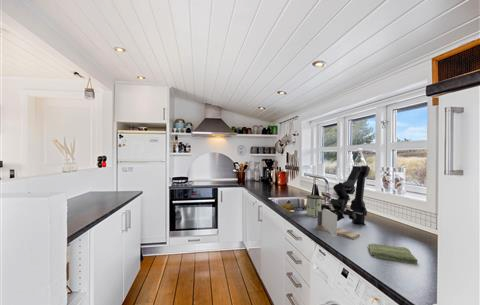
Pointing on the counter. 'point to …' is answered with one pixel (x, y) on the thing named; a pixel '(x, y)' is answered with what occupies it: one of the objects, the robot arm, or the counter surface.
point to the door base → (339, 231)
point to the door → (329, 221)
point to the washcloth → (392, 253)
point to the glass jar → (313, 205)
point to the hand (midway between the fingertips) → (332, 223)
